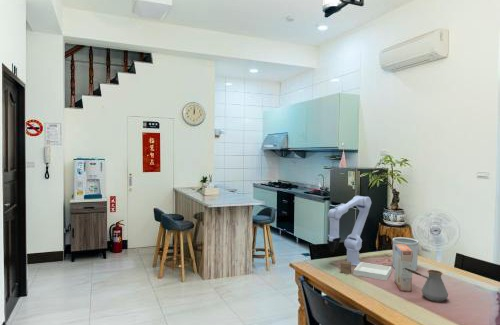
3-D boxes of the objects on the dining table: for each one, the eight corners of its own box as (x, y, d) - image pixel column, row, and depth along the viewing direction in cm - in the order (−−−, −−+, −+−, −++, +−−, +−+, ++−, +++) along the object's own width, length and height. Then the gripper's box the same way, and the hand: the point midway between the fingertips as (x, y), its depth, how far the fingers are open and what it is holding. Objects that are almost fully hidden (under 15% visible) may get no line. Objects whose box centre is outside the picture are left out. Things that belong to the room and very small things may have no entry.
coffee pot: (439, 293, 176) (439, 263, 175) (453, 303, 164) (454, 271, 164) (397, 294, 174) (397, 264, 174) (409, 303, 163) (409, 271, 163)
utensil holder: (422, 272, 209) (423, 242, 209) (397, 271, 210) (397, 242, 210) (411, 264, 224) (412, 237, 224) (388, 264, 224) (388, 237, 224)
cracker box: (412, 291, 178) (413, 250, 177) (399, 290, 179) (400, 250, 179) (406, 282, 191) (406, 244, 191) (394, 281, 193) (394, 243, 192)
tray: (360, 266, 219) (360, 262, 219) (391, 271, 210) (391, 266, 210) (353, 274, 203) (353, 269, 203) (386, 280, 194) (386, 275, 194)
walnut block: (342, 270, 211) (342, 260, 211) (351, 272, 208) (351, 262, 208) (340, 273, 206) (340, 262, 206) (348, 274, 204) (349, 264, 204)
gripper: (331, 226, 225) (331, 247, 225) (324, 229, 212) (324, 252, 212) (342, 227, 221) (342, 248, 222) (335, 231, 209) (335, 253, 209)
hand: (334, 250), depth 217 cm, fingers open, 7 cm apart
